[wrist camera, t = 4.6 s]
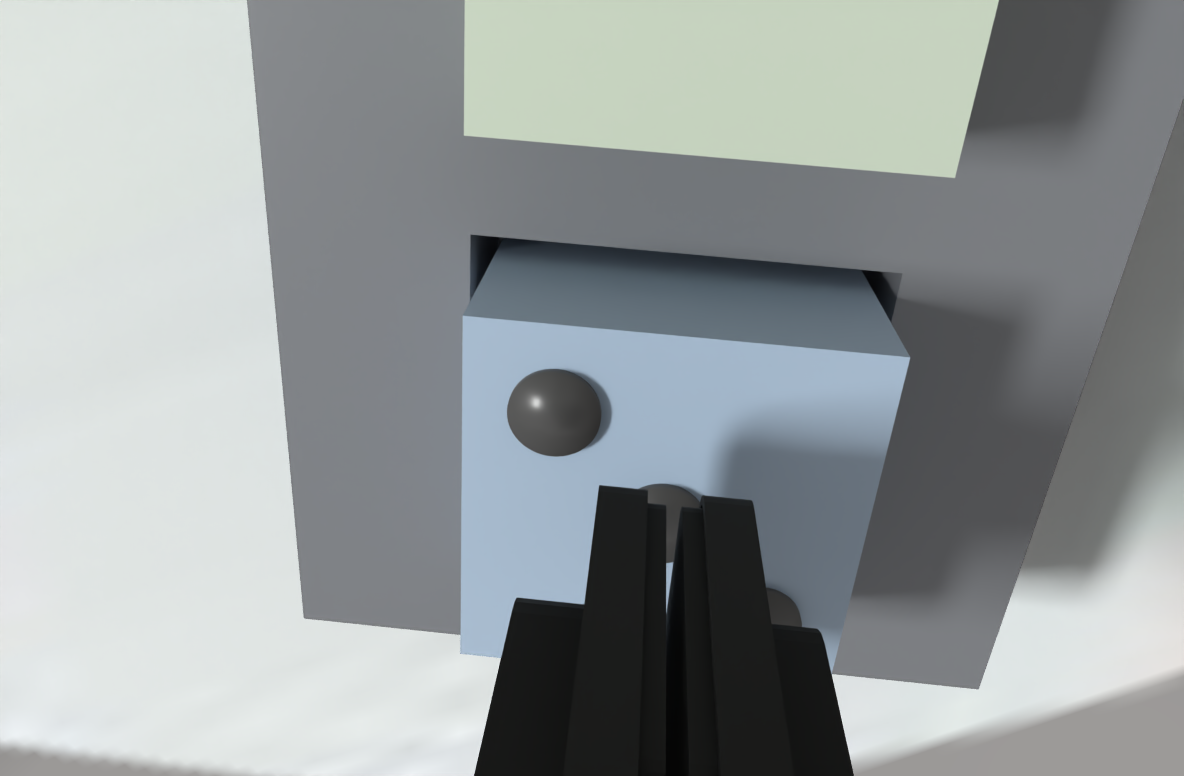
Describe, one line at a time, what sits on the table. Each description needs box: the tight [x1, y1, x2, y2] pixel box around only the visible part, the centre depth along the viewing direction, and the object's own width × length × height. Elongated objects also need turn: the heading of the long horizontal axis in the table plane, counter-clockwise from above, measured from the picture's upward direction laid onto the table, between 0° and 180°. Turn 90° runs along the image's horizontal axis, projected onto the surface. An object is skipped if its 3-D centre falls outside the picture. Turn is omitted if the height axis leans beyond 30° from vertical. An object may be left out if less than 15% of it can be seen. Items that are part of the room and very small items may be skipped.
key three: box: [460, 238, 910, 674], centre depth 13 cm, size 5×5×3 cm
